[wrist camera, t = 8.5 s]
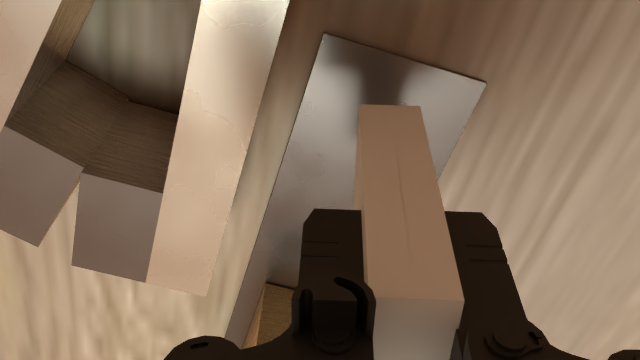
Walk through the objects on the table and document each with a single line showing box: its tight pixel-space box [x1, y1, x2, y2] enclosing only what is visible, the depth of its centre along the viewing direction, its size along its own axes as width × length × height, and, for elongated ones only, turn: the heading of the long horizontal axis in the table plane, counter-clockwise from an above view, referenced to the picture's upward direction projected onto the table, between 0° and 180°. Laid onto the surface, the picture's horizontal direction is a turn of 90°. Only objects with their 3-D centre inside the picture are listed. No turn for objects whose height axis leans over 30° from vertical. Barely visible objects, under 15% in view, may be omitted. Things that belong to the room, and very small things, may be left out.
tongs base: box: [0, 0, 487, 349], centre depth 14 cm, size 27×16×4 cm, turn 145°
